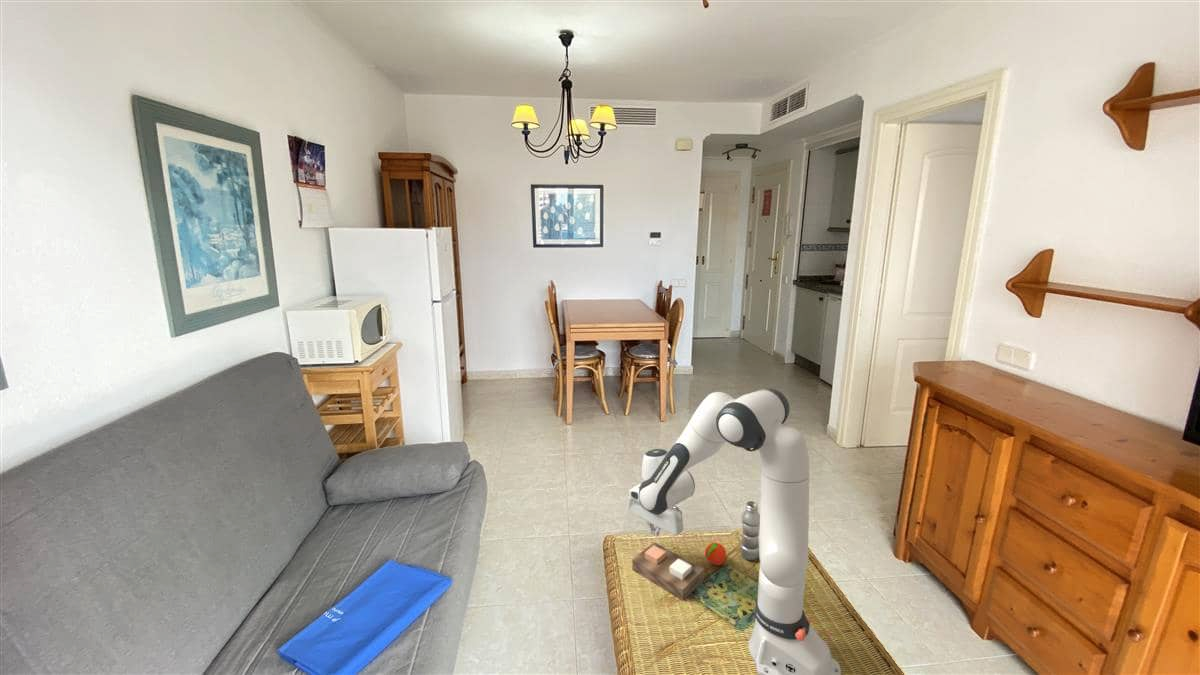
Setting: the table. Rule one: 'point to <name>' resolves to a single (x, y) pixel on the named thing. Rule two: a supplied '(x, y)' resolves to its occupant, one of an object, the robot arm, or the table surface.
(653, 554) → the key terracotta
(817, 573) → the table surface
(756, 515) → the plastic bottle
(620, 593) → the table surface
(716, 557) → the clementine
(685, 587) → the key console
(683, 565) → the key ivory
